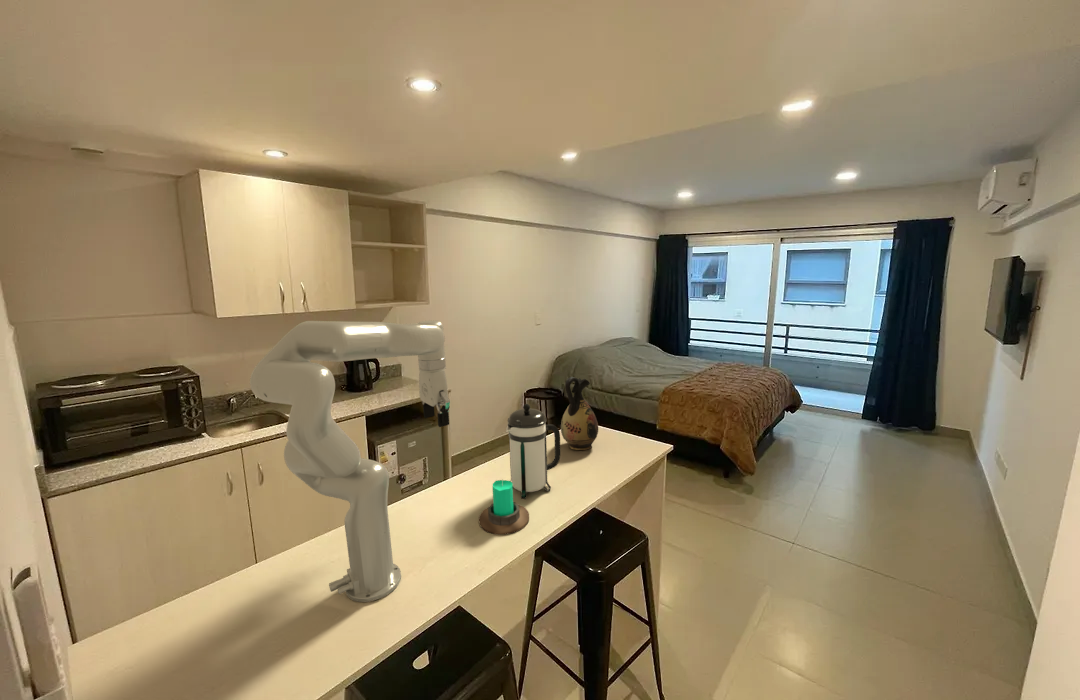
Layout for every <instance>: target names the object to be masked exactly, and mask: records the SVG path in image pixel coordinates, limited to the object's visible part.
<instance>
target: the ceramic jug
mask: <svg viewBox="0 0 1080 700" xmlns="http://www.w3.org/2000/svg"><path fill="white" fill-rule="evenodd" d="M573 383H574V384H573ZM571 384H573V387H572V389H571ZM590 384H591V382H590V381H589V380H588V379H585V378H583V379H581V378H578V377H574V376H569V377H568V378H567V379H566V380H565V385H564V387H565V388H564V389H565V393H566V395H567V399H568V402H569V405H568V406H567V408H566V409H565V411H564V413H563V415H562V418H561V422H560V423H561V424H560V431H561V433H560V434H561V435H562V438H563V439H564V441H565V442H566V443H567V444H568V446H569V449H571V450H575V451H586V450H590V449H592V448H593V446H592V445H593V443H594V441H595V440H596V439H597V437H598V434H599V423H598V420H597V417H596V414H595V413H594V410H593V409H592V408H591V406H590V404H588V402H587V401H586V400H585V398H584V397H583V392H582V391H583V390H584V389H585V388H586V387H588V386H589V385H590Z"/></svg>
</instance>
